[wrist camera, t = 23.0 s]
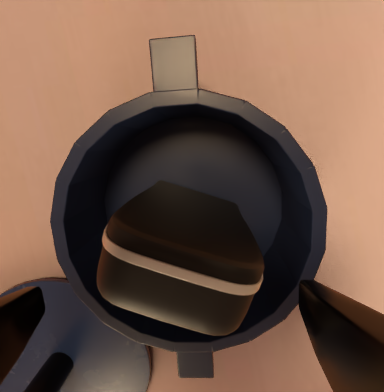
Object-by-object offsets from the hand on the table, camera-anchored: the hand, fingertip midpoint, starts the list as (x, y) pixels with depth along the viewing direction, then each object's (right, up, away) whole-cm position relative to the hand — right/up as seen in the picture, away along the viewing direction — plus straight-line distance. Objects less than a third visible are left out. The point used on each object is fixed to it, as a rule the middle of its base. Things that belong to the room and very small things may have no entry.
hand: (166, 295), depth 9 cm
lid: (-11, -12, +15) cm, 22 cm away
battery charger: (+1, +2, +12) cm, 12 cm away
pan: (+1, +2, +12) cm, 12 cm away
